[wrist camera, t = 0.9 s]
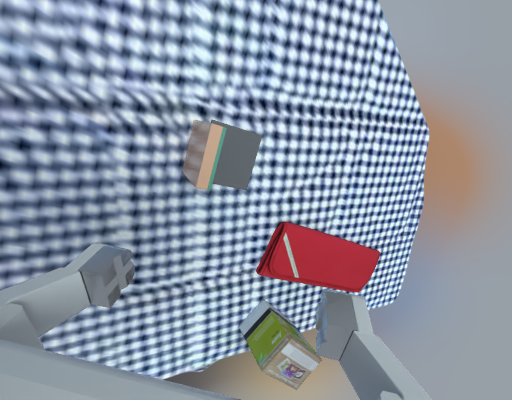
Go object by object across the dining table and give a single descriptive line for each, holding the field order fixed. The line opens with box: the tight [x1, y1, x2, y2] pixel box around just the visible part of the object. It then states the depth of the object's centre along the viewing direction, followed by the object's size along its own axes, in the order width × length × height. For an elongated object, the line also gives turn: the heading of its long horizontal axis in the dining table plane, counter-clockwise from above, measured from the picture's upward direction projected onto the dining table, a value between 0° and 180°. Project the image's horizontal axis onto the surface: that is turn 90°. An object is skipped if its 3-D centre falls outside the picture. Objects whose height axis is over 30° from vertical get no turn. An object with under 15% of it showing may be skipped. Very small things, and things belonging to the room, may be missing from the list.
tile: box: [182, 120, 227, 191], centre depth 45 cm, size 2×10×12 cm, turn 162°
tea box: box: [239, 300, 322, 390], centre depth 67 cm, size 15×10×15 cm, turn 40°
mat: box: [211, 120, 262, 190], centre depth 54 cm, size 11×12×1 cm
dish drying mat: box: [256, 222, 380, 292], centre depth 74 cm, size 16×41×4 cm, turn 64°
